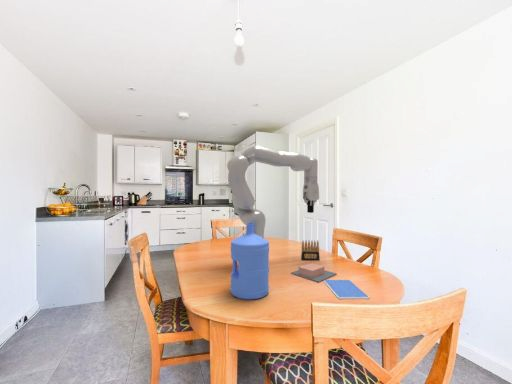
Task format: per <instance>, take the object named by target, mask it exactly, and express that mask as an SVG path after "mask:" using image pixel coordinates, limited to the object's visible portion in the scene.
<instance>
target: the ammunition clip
mask: <svg viewBox="0 0 512 384" xmlns="http://www.w3.org/2000/svg"><path fill="white" fill-rule="evenodd" d="M300 255H301V256H300V260H301V261H304V262H305V261H315V262H316V261H318V262H320V259H321V258H320V245H319V239H317V241H316V240H314V241H313V240H311V241H310V240H308V241H307V240H305V242H304V240H302V243H301V254H300Z"/></svg>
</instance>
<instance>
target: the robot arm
mask: <svg viewBox="0 0 512 384" xmlns="http://www.w3.org/2000/svg"><path fill="white" fill-rule="evenodd" d="M255 163H260V164H264V165H269V166H273V167H290V169H291V170H292V171H293V172H303V186H302V187H303V188H302V199H303V202H304V203H306V206H307V209H306V210H307V211H306V212H307V213H308V214H309V213H310V214H312V213H314V211H315V210H314V208H315V203H317V201H318V200H320V190H319V189H320V188H319V181H318V180H319V179H318V172H319V171H318V169H319V168H318V167H319V166H318V165H319V164H318V159H317V158H315V157H314V158H310V157H309V156H307V155H304V154H301V153H297V152H290V151H289V152H288V151H286V150H285V151H284V150H277V149H274V148H270V147H266V146H263V145H258V144H257V145H255V144H254V145H253V146H252V145H251V147H248V148H246V149H245V150H243V151H242V152H240V153H238V154H236V155H235V156H234V157H233V156H232V157H231V158H230V159H229V160H228V161H227V164H226V166H227V170H228V173H227V180H228V181H227V182H228V184H229V188H230V190H231V192H232V198H231V203H232V206H233V208H234V209H235V212H236V214H237V216H238V218H239V220H240V221H241V223H243V224H244V225H245V226H247V225H246V223H254V234H256V235H258V236H260V237H262V238H264V239H265V226H266V215H265V214H264V213H263V212H262V211H261V210H259V209H256V208H254V205H255V202H256V201H255V197H254V194H253V193H252V190H251V189H250V187H249V184H248V182H247V180H246V172H247V170H248V168H249V167H250V166H251V165H253V164H255ZM237 270H239V265H237Z"/></svg>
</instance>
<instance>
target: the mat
mask: <svg viewBox="0 0 512 384" xmlns="http://www.w3.org/2000/svg"><path fill="white" fill-rule="evenodd" d="M290 274H291V275H293V276H297V277H300V278H303V279H306V280H309V281H312V282H315V283H321V282H324V280H329V279H331V278H332V277H335V276H337V273H336V272H333V271H329V270H325V269H324V274H322V275H320V276H317V277H315V278H310V277H306V276H303V275H300V274H299V269H296V270H294V271H292V272H290Z"/></svg>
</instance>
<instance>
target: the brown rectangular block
mask: <svg viewBox="0 0 512 384" xmlns="http://www.w3.org/2000/svg"><path fill="white" fill-rule="evenodd" d="M298 270H299V274H300V275H303V276H306V277H310V278H315V277H317V276H320V275H322V274H324V270H325V266H323V265H319V264H315V263H312V262H309V263H307V264H303V265H300V266H298Z"/></svg>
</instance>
